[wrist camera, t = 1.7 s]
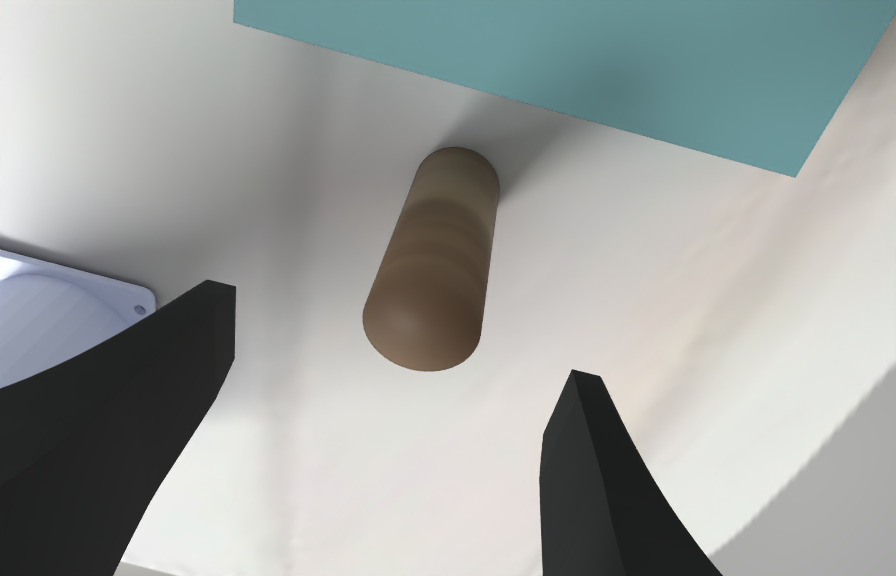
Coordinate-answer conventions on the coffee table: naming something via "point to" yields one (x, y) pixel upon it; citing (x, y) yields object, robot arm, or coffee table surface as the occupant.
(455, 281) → the peg
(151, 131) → the coffee table surface
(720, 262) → the coffee table surface
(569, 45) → the socket board
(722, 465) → the coffee table surface
